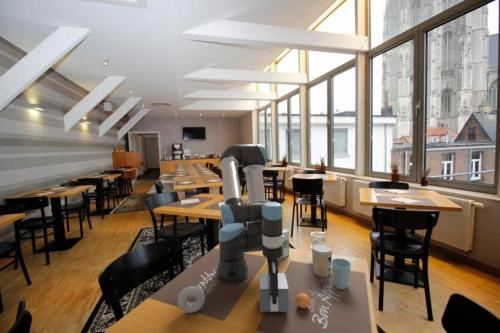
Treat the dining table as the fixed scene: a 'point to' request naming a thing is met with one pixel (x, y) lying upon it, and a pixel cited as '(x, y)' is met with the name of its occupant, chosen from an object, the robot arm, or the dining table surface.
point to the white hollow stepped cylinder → (317, 238)
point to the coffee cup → (321, 259)
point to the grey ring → (188, 292)
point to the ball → (303, 300)
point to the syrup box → (285, 243)
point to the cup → (341, 272)
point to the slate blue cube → (266, 289)
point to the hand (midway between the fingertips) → (273, 300)
